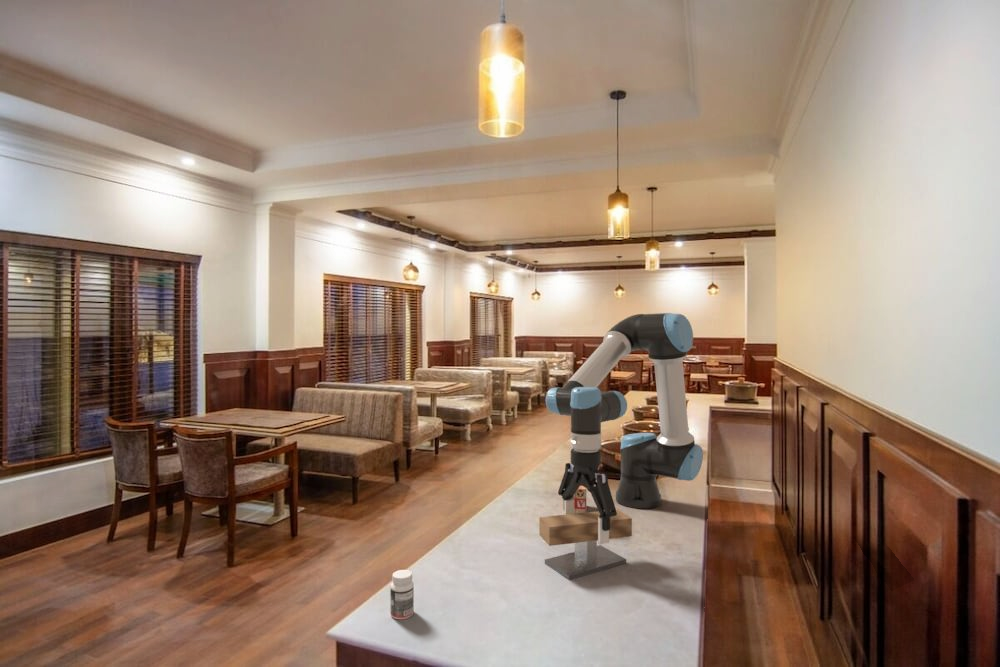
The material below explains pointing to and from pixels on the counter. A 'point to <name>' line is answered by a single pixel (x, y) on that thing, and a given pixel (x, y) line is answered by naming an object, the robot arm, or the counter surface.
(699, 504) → the counter surface
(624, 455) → the robot arm
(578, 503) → the stack of blocks
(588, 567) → the fulcrum
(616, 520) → the board
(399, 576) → the pill bottle
